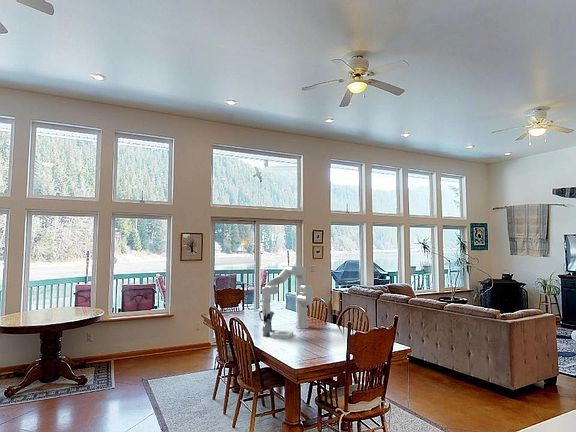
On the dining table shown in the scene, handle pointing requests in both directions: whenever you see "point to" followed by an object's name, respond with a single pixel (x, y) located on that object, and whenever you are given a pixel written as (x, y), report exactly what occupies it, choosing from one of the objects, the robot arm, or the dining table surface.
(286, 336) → the housing
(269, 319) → the moka pot
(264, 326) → the end cover
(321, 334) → the dining table surface
